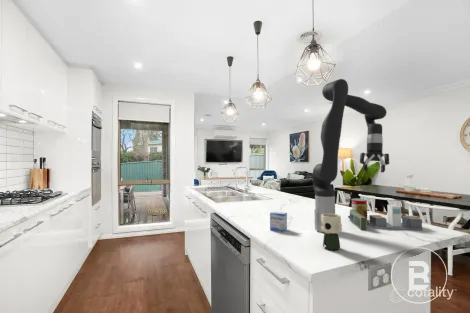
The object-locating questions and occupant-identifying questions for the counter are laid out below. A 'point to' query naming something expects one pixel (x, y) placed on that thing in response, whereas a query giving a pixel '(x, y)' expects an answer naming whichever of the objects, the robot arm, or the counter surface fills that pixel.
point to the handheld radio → (358, 220)
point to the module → (394, 215)
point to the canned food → (360, 206)
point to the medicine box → (278, 221)
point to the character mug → (331, 230)
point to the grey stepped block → (406, 224)
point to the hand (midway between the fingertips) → (374, 171)
